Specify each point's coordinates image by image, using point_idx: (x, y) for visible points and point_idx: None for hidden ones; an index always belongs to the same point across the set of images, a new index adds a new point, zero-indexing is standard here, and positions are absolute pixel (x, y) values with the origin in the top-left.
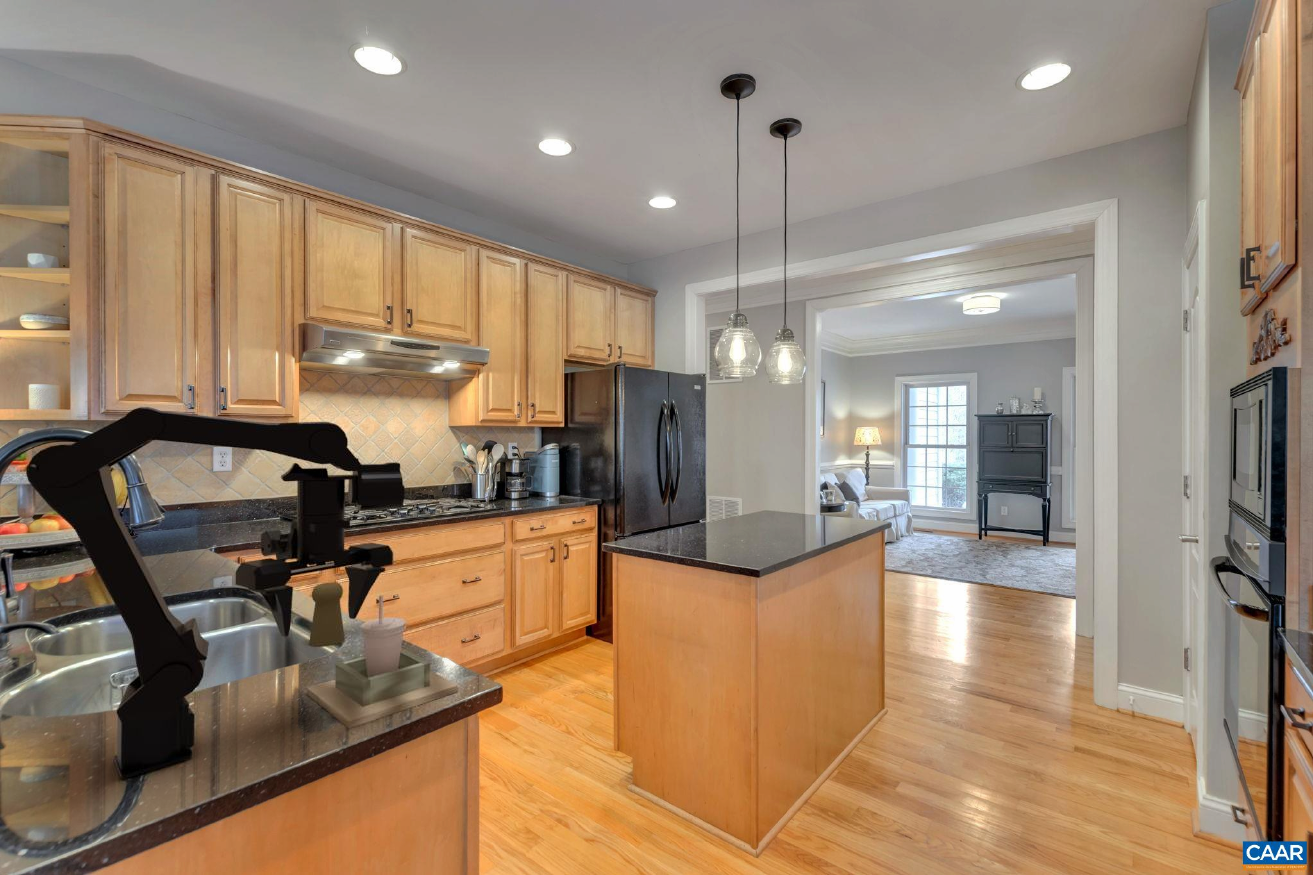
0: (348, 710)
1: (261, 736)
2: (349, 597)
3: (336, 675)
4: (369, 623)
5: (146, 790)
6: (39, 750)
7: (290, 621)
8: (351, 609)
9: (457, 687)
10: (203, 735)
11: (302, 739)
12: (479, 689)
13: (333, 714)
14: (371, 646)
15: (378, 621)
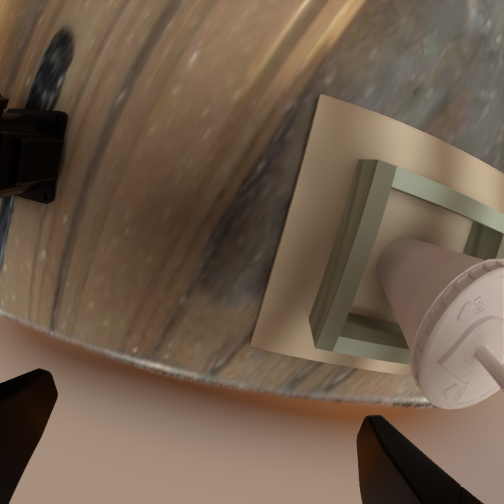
0: (281, 307)
1: (143, 220)
2: (403, 494)
3: (365, 167)
4: (487, 296)
5: (10, 242)
6: (6, 7)
7: (32, 452)
8: (368, 464)
9: None
10: (94, 119)
11: (180, 301)
12: None
13: (272, 266)
14: (406, 337)
15: (498, 325)
